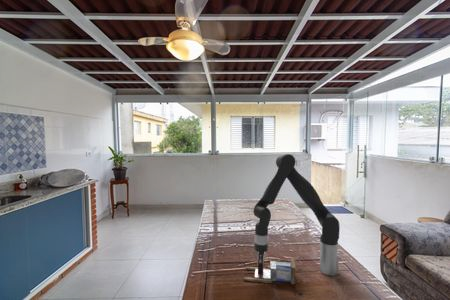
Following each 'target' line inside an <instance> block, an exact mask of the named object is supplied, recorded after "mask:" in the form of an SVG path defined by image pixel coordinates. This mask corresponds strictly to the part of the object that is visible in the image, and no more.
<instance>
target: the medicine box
mask: <svg viewBox="0 0 450 300" xmlns="http://www.w3.org/2000/svg"><path fill="white" fill-rule="evenodd" d="M278 281H279V282H287V283H288V282H289V283H291V263H290V262H287V261H286V262H285V261H276V282H278Z"/></svg>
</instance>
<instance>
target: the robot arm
mask: <svg viewBox="0 0 450 300" xmlns="http://www.w3.org/2000/svg"><path fill="white" fill-rule="evenodd" d="M296 163H297V162H296V158H295V156H294V155H293V154H290V153H287V154H286V153H284V154H281V155H279V156H277V158H276V160H275V165H276V167H277V171H276V172H275V175H274V176H273V178H271V181H270V182H269V184H268V185H267V186H266V188H265V190H264V192H263V195H262V196H261V198H259V200H258V201H257V202H256V204H255V205H254V208H253V215H254V216H255V217H256V218H258V219H259V221H258V222H256V223H255V226H254V227H255V228H254V230H255V233H254V241H253V242H254V243H253V245H254V247H253V248H254V251H255V252H257V253H256V254H257V255H256V256H257V258H258V261H257V260H256V261H257V268H258V273H259V274H262V268H264V263H265V262H264V261H265V254H266V252H268V251H269V225H270V222H271V218H272V212H271V209H269V208H268V206H269V205H273V204H274V203H275V202H276V199H277V197H278V195H279V193H280V190H281V189H282V187H283V185H284V183H285V181H286V179H287V180H288V181H289V183H290V184H291V186H292V187H293V188H294V190H295V192H296V193H297V194H298V196H299V197H300V198H301V200H302V201H303V202H304V203H305V204H306V206H307V207H308V208H309V209H310V210H311V211H312V212H313V214H314V215H315V218H316V219H317V221H318V223H319V225H320V226H321V235H320V237H319V238H320V239H319V242H320V243H319V271H320V272H321V273H322V274H324V275H327V276H336V275H337V276H338V275H339V267H340V266H339V265H340V264H339V259H340V258H339V256H338V253H339V252H338V243H339V239H340V227H341V226H340V221H339V220H338V218H337V217H336V216H335V215H334V214H332V213H331V212H330V211H329V210H328V208H327V207H326V206H325V205H324V202H322V200H321V197H320V195H319V194H318V192H317V191H316V189H315V188H314V186H313V185H312V184H311V182H309V181H308V179H306V178H305V177H304V176H303V175H302V174H300V173H299V172H298V171H297V169H296V168H295V166H296Z"/></svg>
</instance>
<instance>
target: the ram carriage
mask: <svg viewBox="0 0 450 300" xmlns="http://www.w3.org/2000/svg"><path fill="white" fill-rule="evenodd" d="M256 261H258V257H257V260H256ZM276 262H277V261H275V260H270V264H269V265H270V266H269V267H270V268H269V269H270V270H266V269H263V268H264V267H263V268H262V274H259V273H258V269H256V270H254V278H259V279H269V280H272V282H277V280H276Z"/></svg>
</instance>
